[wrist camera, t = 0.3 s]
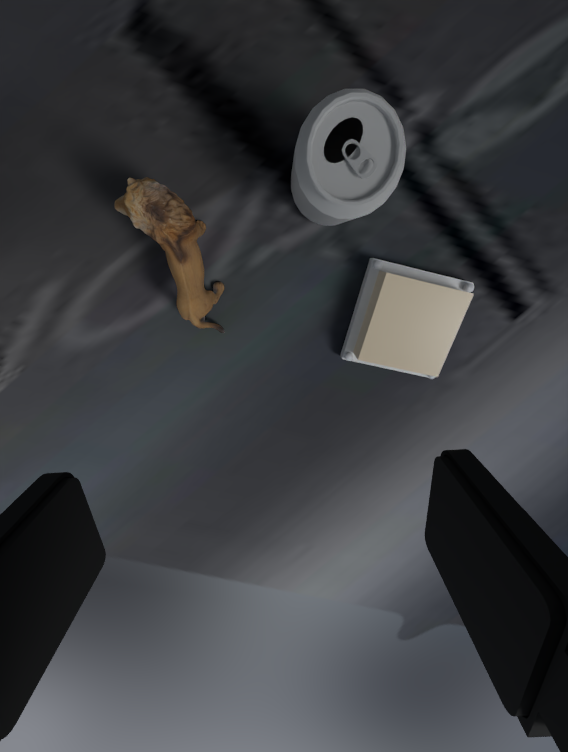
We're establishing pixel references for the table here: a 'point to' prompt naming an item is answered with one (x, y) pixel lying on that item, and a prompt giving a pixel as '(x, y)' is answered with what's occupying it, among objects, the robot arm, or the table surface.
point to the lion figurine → (173, 243)
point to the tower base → (406, 318)
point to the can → (347, 157)
